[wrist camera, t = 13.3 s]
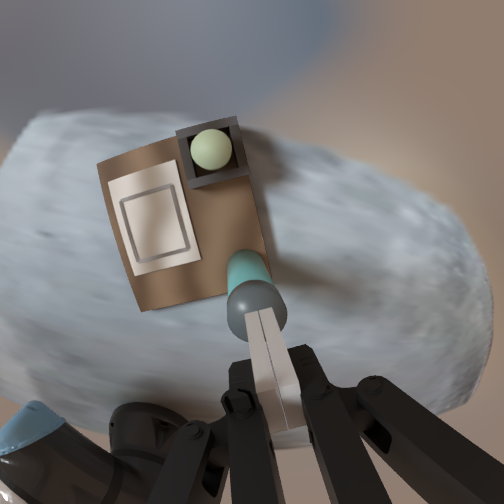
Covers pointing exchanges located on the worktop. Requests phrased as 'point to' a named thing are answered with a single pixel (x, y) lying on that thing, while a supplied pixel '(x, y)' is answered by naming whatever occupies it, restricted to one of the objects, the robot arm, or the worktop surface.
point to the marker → (251, 292)
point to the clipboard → (180, 217)
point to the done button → (211, 149)
